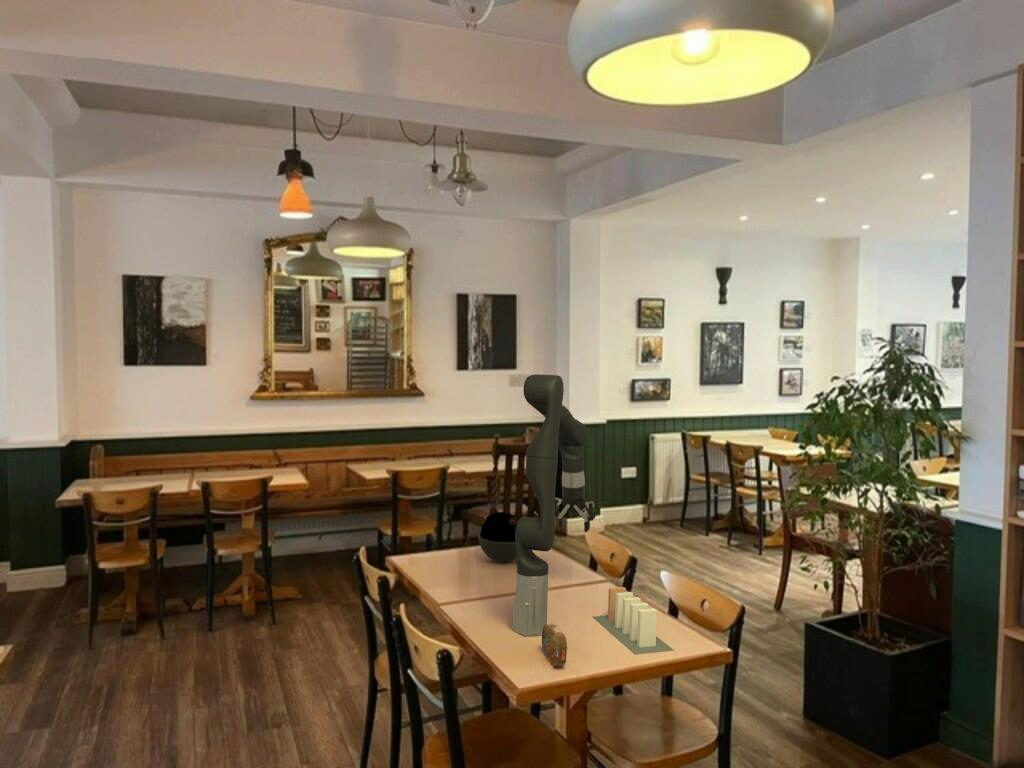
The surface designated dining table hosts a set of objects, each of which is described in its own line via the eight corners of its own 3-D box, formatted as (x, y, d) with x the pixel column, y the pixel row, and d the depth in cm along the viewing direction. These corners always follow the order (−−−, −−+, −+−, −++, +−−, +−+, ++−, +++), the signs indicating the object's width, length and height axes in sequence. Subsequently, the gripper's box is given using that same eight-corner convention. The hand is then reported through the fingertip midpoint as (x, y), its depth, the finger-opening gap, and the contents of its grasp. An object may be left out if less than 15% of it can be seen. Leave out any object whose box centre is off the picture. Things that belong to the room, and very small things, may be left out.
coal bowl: (507, 552, 309) (508, 506, 308) (540, 563, 293) (541, 515, 293) (467, 559, 296) (468, 512, 295) (499, 572, 281) (500, 521, 280)
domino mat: (591, 618, 234) (591, 616, 234) (627, 615, 238) (627, 613, 238) (634, 656, 205) (634, 654, 205) (674, 652, 209) (674, 650, 209)
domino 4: (629, 638, 217) (630, 604, 216) (645, 637, 218) (646, 602, 218) (631, 640, 215) (632, 605, 215) (647, 639, 217) (648, 604, 216)
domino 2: (614, 626, 226) (615, 593, 226) (629, 624, 228) (630, 591, 227) (616, 628, 225) (617, 594, 224) (632, 626, 226) (633, 593, 226)
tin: (540, 649, 209) (541, 619, 209) (551, 648, 210) (552, 618, 209) (556, 672, 194) (557, 639, 194) (568, 671, 195) (569, 639, 195)
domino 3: (621, 632, 222) (622, 598, 221) (637, 630, 223) (638, 597, 223) (624, 634, 220) (625, 600, 220) (639, 632, 221) (640, 599, 221)
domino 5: (637, 645, 212) (638, 609, 212) (653, 643, 213) (654, 608, 213) (639, 647, 210) (640, 611, 210) (655, 645, 212) (656, 610, 211)
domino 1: (607, 620, 231) (608, 588, 231) (622, 619, 233) (623, 586, 232) (609, 622, 230) (610, 589, 229) (625, 620, 231) (626, 588, 231)
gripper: (549, 484, 251) (550, 531, 254) (590, 488, 245) (591, 536, 248) (557, 478, 258) (558, 523, 261) (597, 482, 252) (598, 528, 255)
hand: (574, 529), depth 254 cm, fingers open, 8 cm apart
